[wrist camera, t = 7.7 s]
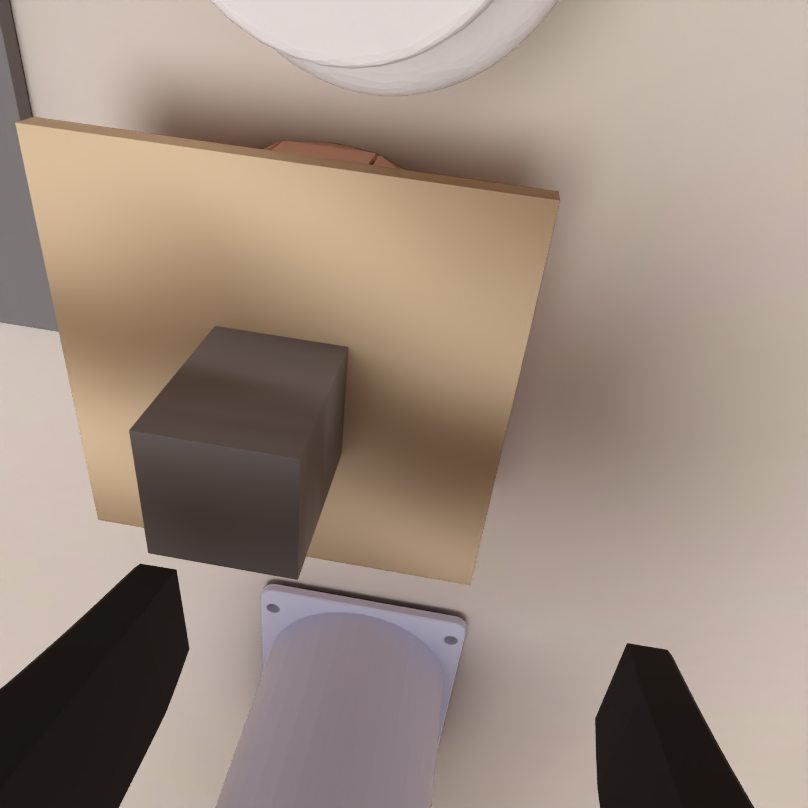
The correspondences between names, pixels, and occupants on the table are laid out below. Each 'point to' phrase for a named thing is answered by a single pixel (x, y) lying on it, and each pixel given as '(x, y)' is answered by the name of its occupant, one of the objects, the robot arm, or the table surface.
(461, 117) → the table surface
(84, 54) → the table surface
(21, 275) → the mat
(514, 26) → the supplement bottle
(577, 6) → the table surface
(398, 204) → the lid
